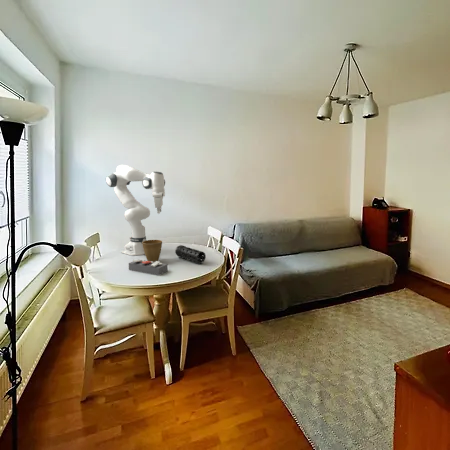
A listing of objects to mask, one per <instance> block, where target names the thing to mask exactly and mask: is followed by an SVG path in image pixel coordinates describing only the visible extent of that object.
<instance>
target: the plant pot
mask: <svg viewBox="0 0 450 450" xmlns="http://www.w3.org/2000/svg"><path fill="white" fill-rule="evenodd" d="M142 244H143V249H144V253H145V254H144V255H145V258H146V261H153V262H156V261H159V259H160V256H161V252H162V245H163V240H160V239H148V240H147V239H146V241H143V242H142Z"/></svg>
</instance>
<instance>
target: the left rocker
mask: <svg viewBox="0 0 450 450" xmlns="http://www.w3.org/2000/svg"><path fill="white" fill-rule="evenodd" d="M142 260H143V259H139V260H138V259H133V260H132V262H133V261H134V262H138V263H140V262H142Z"/></svg>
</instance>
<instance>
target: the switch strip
mask: <svg viewBox="0 0 450 450" xmlns="http://www.w3.org/2000/svg"><path fill="white" fill-rule="evenodd" d="M137 260H140V259H137ZM141 260H142V262H143V261H146V259H145V260H144V259H141ZM142 262H140V263H138V262H134V261H133V260H132V261H130V262H128V271H132V272H133V271H134V272H138V273H143V274H149V275H154V276H155V275H156V276H161V275H162V274H165V273H166V272H168V269H169V268H168V263H163V262H160V264H158V266H156V267H153V266H151V265H152V264H153V263H154V262H153V261H150V262H151V263H149V264H144V263H142Z"/></svg>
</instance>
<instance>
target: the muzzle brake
mask: <svg viewBox="0 0 450 450" xmlns="http://www.w3.org/2000/svg"><path fill="white" fill-rule="evenodd" d="M174 253H175V255H176V256H177V257H179V258H182V259H183V260H189V261H190V262H192V263H195V264H198V265H202V263H203V264H204V262H205V261H206V253H205V252H204V251H201V250H199V249H195V248H191V247H188V246H185V245H184V244H183V245H181V244H179V245H177V246H176V247H175V249H174Z"/></svg>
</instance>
